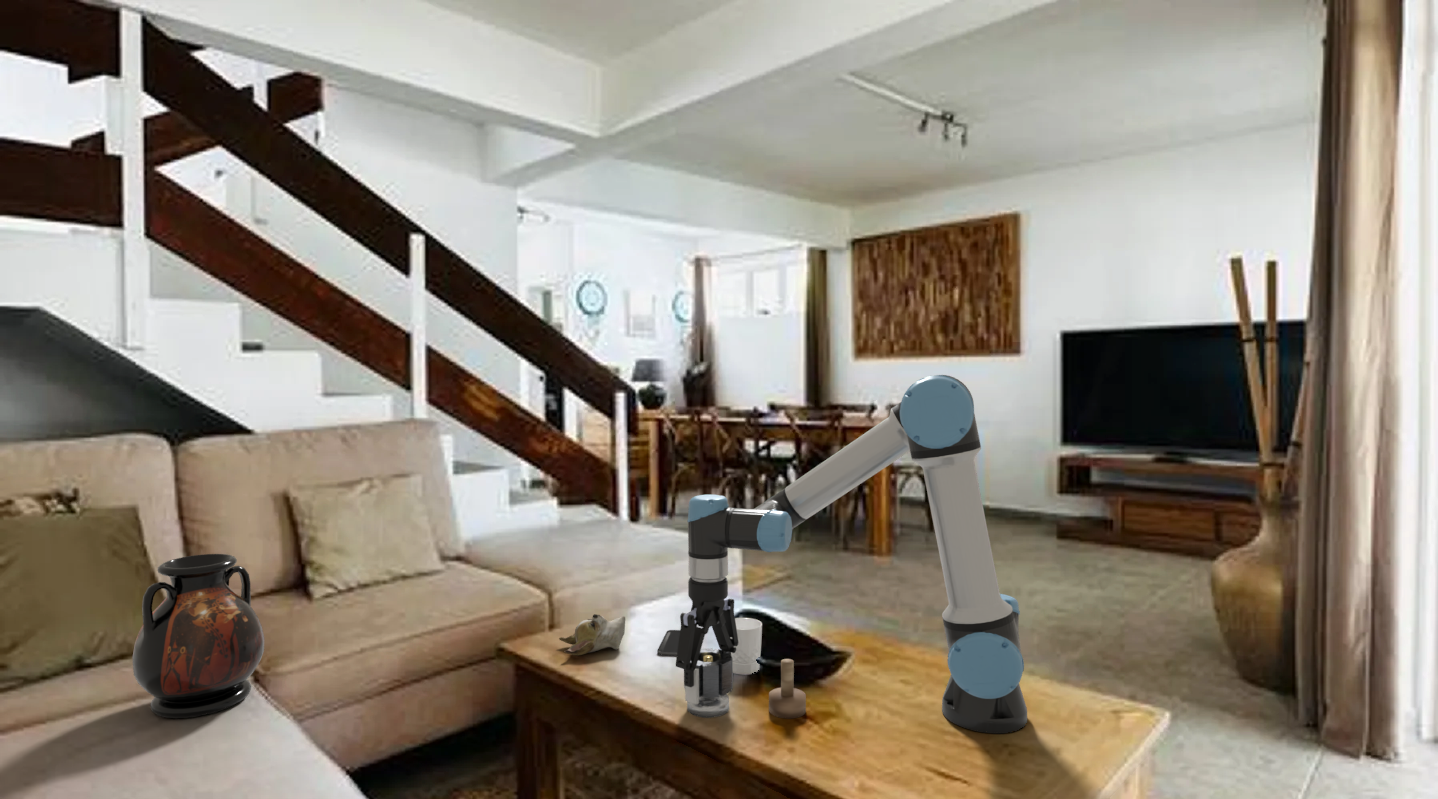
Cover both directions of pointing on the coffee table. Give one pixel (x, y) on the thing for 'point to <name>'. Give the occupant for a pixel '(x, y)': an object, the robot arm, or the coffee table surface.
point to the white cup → (747, 646)
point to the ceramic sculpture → (595, 635)
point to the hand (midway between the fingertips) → (708, 693)
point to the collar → (715, 673)
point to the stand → (787, 695)
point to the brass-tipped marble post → (709, 703)
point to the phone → (669, 643)
